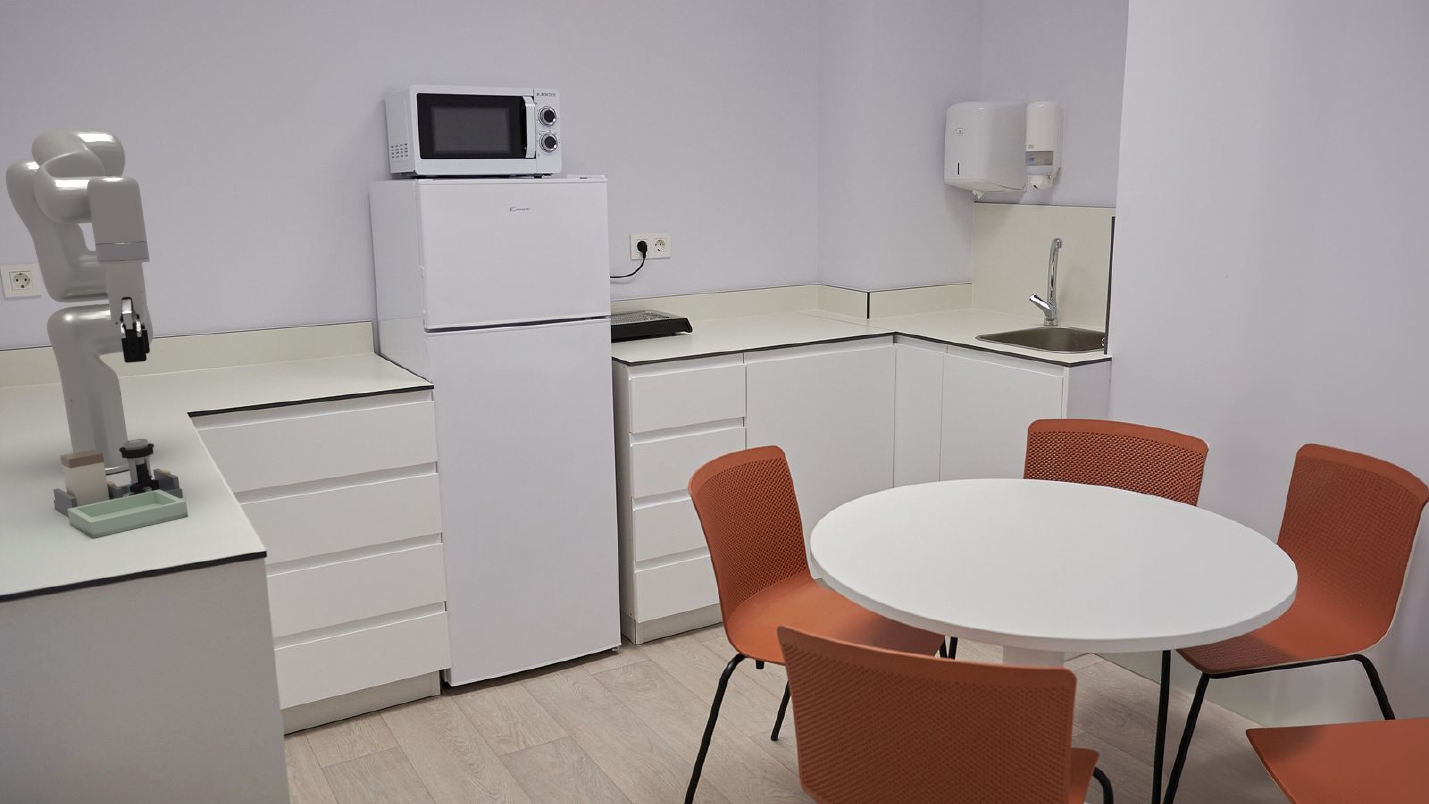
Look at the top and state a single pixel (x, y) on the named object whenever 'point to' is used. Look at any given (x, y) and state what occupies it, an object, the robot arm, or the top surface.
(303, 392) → the top surface
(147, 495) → the tray
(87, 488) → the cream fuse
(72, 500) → the holder
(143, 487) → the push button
